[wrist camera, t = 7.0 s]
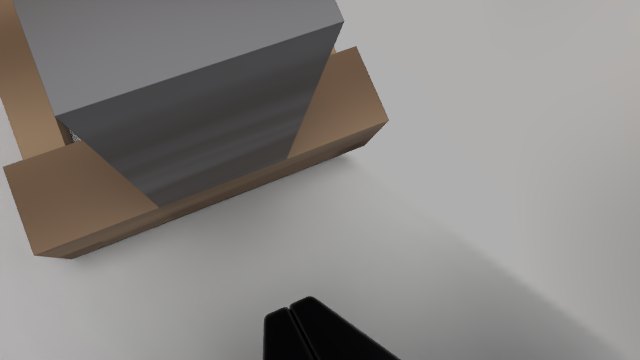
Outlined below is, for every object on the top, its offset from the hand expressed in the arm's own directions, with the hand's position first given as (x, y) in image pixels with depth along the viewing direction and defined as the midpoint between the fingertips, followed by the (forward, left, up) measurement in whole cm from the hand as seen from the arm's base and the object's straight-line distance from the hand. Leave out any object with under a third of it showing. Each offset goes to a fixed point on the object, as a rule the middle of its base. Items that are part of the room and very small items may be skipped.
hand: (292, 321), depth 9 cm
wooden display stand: (+7, +7, -8) cm, 13 cm away
